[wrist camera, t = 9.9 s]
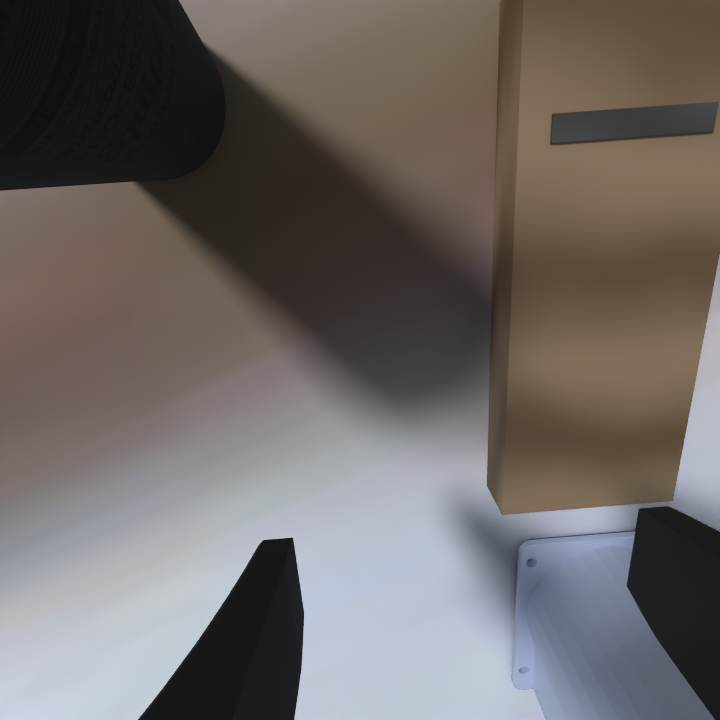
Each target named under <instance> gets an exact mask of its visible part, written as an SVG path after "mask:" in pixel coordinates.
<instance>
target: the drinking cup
mask: <svg viewBox="0 0 720 720" xmlns="http://www.w3.org/2000/svg"><path fill="white" fill-rule="evenodd" d="M224 118H225V99H224V92H223V87H222V83H221V80H220V77H219V74H218V71H217V69H216V67H215V65H214V63H213V61H212V59H211V57H210V55H209V53H208V52H207V50H206V48H205V46H204V45H203V43H202V41H201V39H200V37H199V36H198V34H197V32H196V30H195V29H194V27H193V25H192V23H191V21H190V20H189V18H188V16H187V14H186V12H185V11H184V9H183V7H182V5H181V4H180V2H179V0H0V191H1V190H16V189H30V188H45V187H59V186H74V185H88V184H103V183H117V182H131V181H146V180H160V179H170V178H176V177H180V176H183V175H185V174H188V173H190V172H191V171H193V170H195V169H196V168H198V167H199V166H200V165H201V164H203V163H204V162H205V161H206V160H207V159H208V157H209V156H210V155H211V154H212V152H213V150H214V149H215V147H216V145H217V143H218V141H219V138H220V136H221V133H222V129H223V125H224Z"/></svg>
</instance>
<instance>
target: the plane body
mask: <svg viewBox="0 0 720 720" xmlns="http://www.w3.org/2000/svg"><path fill="white" fill-rule="evenodd" d="M719 254H720V0H501V1H500V25H499V62H498V99H497V136H496V173H495V210H494V247H493V283H492V320H491V357H490V394H489V431H488V468H487V487H488V488H489V490H490V492H491V494H492V496H493V498H494V500H495V502H496V504H497V506H498V508H499V509H500V511H501V513H502V515H506V514H518V513H530V512H542V511H554V510H566V509H578V508H590V507H602V506H614V505H626V504H638V503H650V502H662V501H673V496H674V491H675V486H676V480H677V475H678V470H679V465H680V459H681V454H682V449H683V444H684V438H685V433H686V428H687V423H688V417H689V412H690V407H691V401H692V396H693V391H694V386H695V380H696V375H697V370H698V365H699V359H700V354H701V349H702V344H703V338H704V333H705V328H706V323H707V317H708V312H709V307H710V301H711V296H712V291H713V286H714V280H715V275H716V270H717V265H718V259H719Z"/></svg>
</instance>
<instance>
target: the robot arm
mask: <svg viewBox="0 0 720 720" xmlns="http://www.w3.org/2000/svg"><path fill="white" fill-rule="evenodd" d="M531 558H533V559H531ZM528 559H531V560H529V561H527V560H528ZM303 626H304V610H303V603H302V596H301V589H300V583H299V576H298V569H297V562H296V555H295V549H294V542H293V538H284V539H272V540H263V541H262V542H261V543H260V544H259V546H258V547H257V549H256V551H255V553H254V554H253V556H252V558H251V559H250V561H249V563H248V565H247V566H246V568H245V570H244V571H243V573H242V574H241V576H240V578H239V579H238V581H237V583H236V584H235V586H234V587H233V589H232V590H231V592H230V594H229V595H228V597H227V598H226V600H225V601H224V603H223V604H222V606H221V607H220V609H219V610H218V612H217V613H216V615H215V616H214V618H213V619H212V621H211V622H210V624H209V625H208V627H207V628H206V630H205V631H204V633H203V634H202V636H201V637H200V639H199V640H198V641H197V643H196V644H195V646H194V647H193V648H192V650H191V651H190V652H189V654H188V655H187V656H186V658H185V659H184V660H183V662H182V663H181V665H180V666H179V667H178V669H177V670H176V671H175V673H174V674H173V675H172V677H171V678H170V679H169V681H168V682H167V684H166V685H165V686H164V688H163V689H162V690H161V691H160V693H159V694H158V695H157V697H156V698H155V699H154V700H153V702H152V703H151V704H150V705H149V707H148V708H147V709H146V710H145V712H144V713H143V714H142V715H141V717H140V718H139V719H138V720H294V716H295V709H296V702H297V696H298V689H299V682H300V674H301V665H302V647H303ZM511 679H512V682H513V685H514V687H515V688H517V689H519V690H526V689H534V691H535V694H536V696H537V699H538V701H539V704H540V706H541V709H542V711H543V714H544V716H545V719H546V720H720V532H719V531H717V530H715V529H713V528H711V527H709V526H707V525H705V524H703V523H701V522H699V521H697V520H695V519H694V518H692V517H690V516H688V515H685V514H683V513H681V512H679V511H677V510H675V509H673V508H671V507H668V506H666V507H654V508H642V509H639V512H638V518H637V524H636V530H635V531H631V532H619V533H608V534H596V535H584V536H572V537H560V538H548V539H536V540H528V541H525V542H523V543H522V544H521V545H520V547H519V553H518V570H517V587H516V605H515V622H514V639H513V657H512V674H511Z"/></svg>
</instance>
